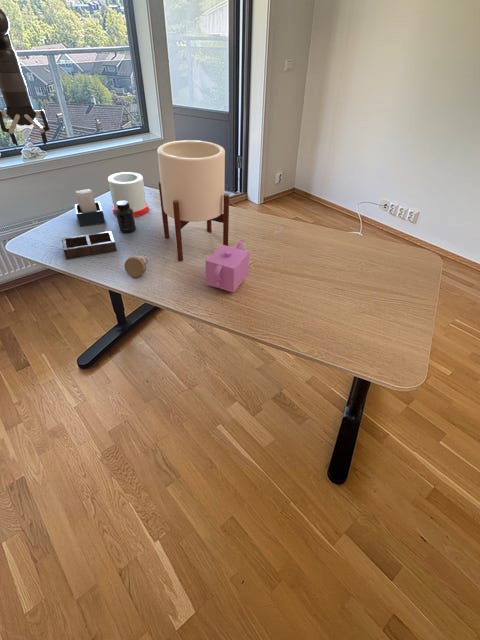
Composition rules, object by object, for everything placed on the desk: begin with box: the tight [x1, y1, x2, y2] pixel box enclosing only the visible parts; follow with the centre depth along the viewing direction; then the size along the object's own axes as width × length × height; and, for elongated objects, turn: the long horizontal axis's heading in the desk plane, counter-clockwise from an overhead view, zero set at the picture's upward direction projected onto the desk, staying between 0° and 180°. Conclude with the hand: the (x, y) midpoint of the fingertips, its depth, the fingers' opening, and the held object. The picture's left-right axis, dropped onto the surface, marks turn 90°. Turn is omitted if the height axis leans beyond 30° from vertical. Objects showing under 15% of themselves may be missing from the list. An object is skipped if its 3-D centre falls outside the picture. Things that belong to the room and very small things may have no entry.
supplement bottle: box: [115, 201, 137, 235], centre depth 141 cm, size 7×7×12 cm
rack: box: [61, 230, 118, 261], centre depth 131 cm, size 18×10×4 cm, turn 114°
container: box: [107, 171, 149, 218], centre depth 156 cm, size 16×16×15 cm
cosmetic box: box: [75, 188, 97, 213], centre depth 147 cm, size 6×4×12 cm
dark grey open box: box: [74, 201, 106, 227], centre depth 149 cm, size 10×10×6 cm
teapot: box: [205, 239, 250, 293], centre depth 117 cm, size 20×10×12 cm, turn 155°
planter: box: [157, 139, 230, 262], centre depth 127 cm, size 22×22×36 cm
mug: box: [123, 255, 149, 278], centre depth 121 cm, size 8×10×10 cm
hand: (31, 144), depth 119 cm, fingers open, 8 cm apart
